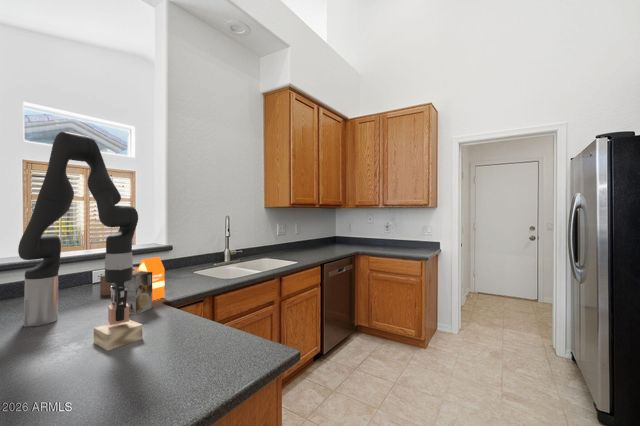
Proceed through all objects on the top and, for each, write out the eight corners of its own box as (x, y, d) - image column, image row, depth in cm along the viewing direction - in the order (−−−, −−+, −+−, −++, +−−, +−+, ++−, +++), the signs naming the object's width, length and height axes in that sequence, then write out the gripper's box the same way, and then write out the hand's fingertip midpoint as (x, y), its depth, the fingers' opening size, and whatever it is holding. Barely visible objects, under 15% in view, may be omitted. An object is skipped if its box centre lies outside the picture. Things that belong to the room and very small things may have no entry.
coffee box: (140, 306, 129) (140, 270, 129) (153, 307, 128) (153, 271, 128) (122, 313, 120) (123, 275, 120) (135, 315, 119) (136, 275, 119)
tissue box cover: (127, 283, 171) (127, 266, 171) (153, 283, 173) (153, 266, 173) (100, 296, 146) (100, 276, 146) (131, 295, 148) (131, 275, 148)
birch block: (107, 351, 88) (107, 335, 88) (93, 343, 93) (93, 327, 93) (142, 339, 97) (142, 324, 97) (127, 332, 102) (127, 318, 102)
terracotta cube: (110, 325, 92) (110, 309, 92) (108, 320, 95) (108, 305, 95) (129, 321, 95) (129, 306, 95) (126, 317, 99) (126, 302, 99)
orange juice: (164, 298, 143) (164, 257, 143) (147, 303, 135) (147, 259, 135) (153, 296, 146) (154, 256, 146) (136, 300, 138) (136, 258, 138)
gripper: (102, 264, 98) (101, 315, 98) (107, 271, 87) (107, 327, 87) (128, 262, 103) (127, 310, 103) (137, 268, 92) (136, 321, 92)
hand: (118, 318), depth 95 cm, fingers closed on terracotta cube, 5 cm apart
